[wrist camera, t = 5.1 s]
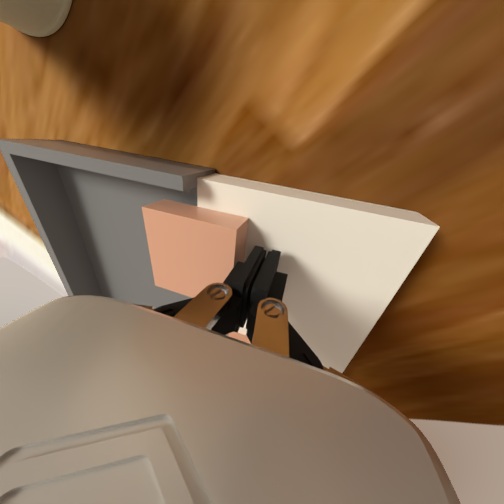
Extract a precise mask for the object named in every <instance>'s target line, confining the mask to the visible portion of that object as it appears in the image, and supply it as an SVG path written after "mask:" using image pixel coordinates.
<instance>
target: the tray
mask: <svg viewBox="0 0 504 504" xmlns="http://www.w3.org/2000/svg"><path fill="white" fill-rule="evenodd" d="M0 151H1V153H2V155H3V157H4V159H5V161H6V163H7V166H8V168H9V170H10V172H11V174H12V176H13V178H14V180H15V183H16V185H17V187H18V189H19V191H20V193H21V195H22V198H23V200H24V202H25V204H26V206H27V208H28V210H29V212H30V215H31V217H32V219H33V221H34V223H35V225H36V227H37V230H38V232H39V234H40V236H41V238H42V240H43V242H44V244H45V247H46V249H47V251H48V253H49V255H50V257H51V259H52V261H53V264H54V266H55V268H56V270H57V272H58V274H59V276H60V279H61V281H62V283H63V285H64V287H65V289H66V291H67V293H68V296H76V295H94V296H103V297H108V298H113V299H117V300H121V301H124V302H128V303H131V304H137V305H146V306H154V309H156V308H157V307H160V306H163V305H167V304H171V303H174V302H178V301H182V300H186V299H190V298H192V297H189V296H186V295H183V294H180V293H176V292H173V291H170V290H167V289H164V288H161V287H158V286H155V281H154V276H153V270H152V264H151V258H150V253H149V247H148V241H147V235H146V229H145V224H144V218H143V212H142V206H145V205H148V204H151V203H154V202H157V201H160V200H163V199H166V200H171V201H175V202H180V203H184V204H189V205H193V206H197V178H200V177H203V176H207V175H211V174H215V169H214V168H208V167H203V166H197V165H192V164H187V163H181V162H176V161H171V160H165V159H160V158H155V157H149V156H144V155H139V154H133V153H128V152H123V151H117V150H112V149H107V148H101V147H96V146H91V145H85V144H80V143H75V142H69V141H64V140H39V139H1V138H0Z"/></svg>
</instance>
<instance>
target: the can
mask: <svg viewBox="0 0 504 504" xmlns="http://www.w3.org/2000/svg"><path fill="white" fill-rule="evenodd" d="M71 4H72V0H0V21H1V22H4V23H6V24H8V25H10V26H12V27H13V28H15V29H17V30H19V31H20V32H22V33H25V34H27V35H30V36H35V37H46V36H49V35H51V34H54V33H55V32H56V31H57V30H59V28H60V27H61V26H62V25H63V23H64V21H65V20H66V18H67V16H68V13H69V11H70V7H71Z"/></svg>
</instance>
